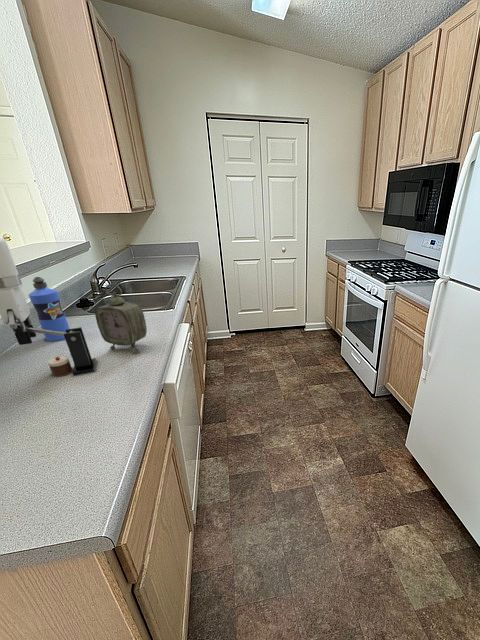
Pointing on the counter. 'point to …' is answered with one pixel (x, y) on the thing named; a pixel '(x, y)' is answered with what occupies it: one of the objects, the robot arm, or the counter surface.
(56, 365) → the cake
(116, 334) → the tabletop clock
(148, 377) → the counter surface
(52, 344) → the counter surface
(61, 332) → the lever
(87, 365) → the black upright frame
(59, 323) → the blue bottle
